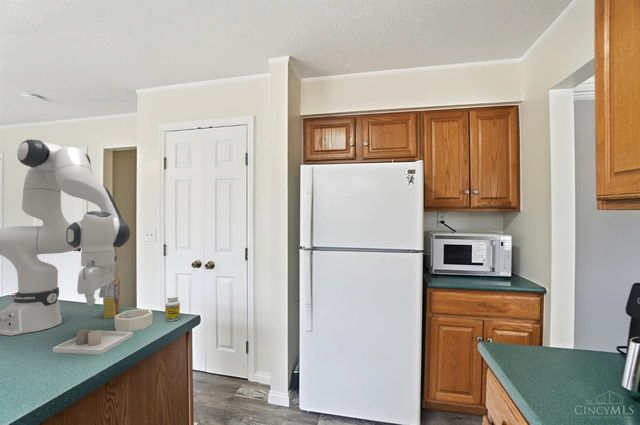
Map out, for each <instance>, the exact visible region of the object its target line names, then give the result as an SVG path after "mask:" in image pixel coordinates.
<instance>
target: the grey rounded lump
mask: <svg viewBox="0 0 640 425" xmlns="http://www.w3.org/2000/svg"><path fill="white" fill-rule="evenodd" d="M131 318H136V313H128V314H126V315H125V319H131Z"/></svg>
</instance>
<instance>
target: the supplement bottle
mask: <svg viewBox="0 0 640 425" xmlns="http://www.w3.org/2000/svg"><path fill="white" fill-rule="evenodd" d="M166 299H167V301H166V303H165V314H164V315H165V316H164V317H165V321H166V322H176V321H178V320H180V317H181V315H180V313H181V312H180V310H181V309H180V308H181V304H180V303H181V302H180V300H179V296H178V295H176V294H175V295H174V294H173V295H169V296H167V298H166Z"/></svg>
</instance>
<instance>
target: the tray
mask: <svg viewBox="0 0 640 425" xmlns="http://www.w3.org/2000/svg"><path fill="white" fill-rule="evenodd" d="M93 330H94V329H93ZM93 330H92V329H90V331H93ZM133 337H134V332H133V331H130V332H124V331H116V330H102V343H101V344H99V345H96V346H88V343H87V344H84V345H76V336H75V337H73V338H71V339H69V340H66V341H65V342H63V343H60V344H58V345H56V346H54V347H52V353H62V354H77V355H78V354H81V355H94V356H95V355H98V356H100V355H104V354H105V353H106V352H108V351H110V350H112V349H113V348H116V347H117V346H119V345H121V344H122V343H124V342H126V341H127V340H129V339H130V338H133Z"/></svg>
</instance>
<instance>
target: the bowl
mask: <svg viewBox="0 0 640 425" xmlns="http://www.w3.org/2000/svg"><path fill="white" fill-rule="evenodd" d="M128 313H136V318H131V319H125V315H126V314H128ZM151 325H153V311H152V310H151V309H145V308H144V309H143V308H137V309H131V310H127V311H126V310H125V311H122V312H121V313H120V312H119V313H118V314H117V315H115V318H114V331H120V332H133V331H139V330H143V329H146V328H147V327H149V326H151Z"/></svg>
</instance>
